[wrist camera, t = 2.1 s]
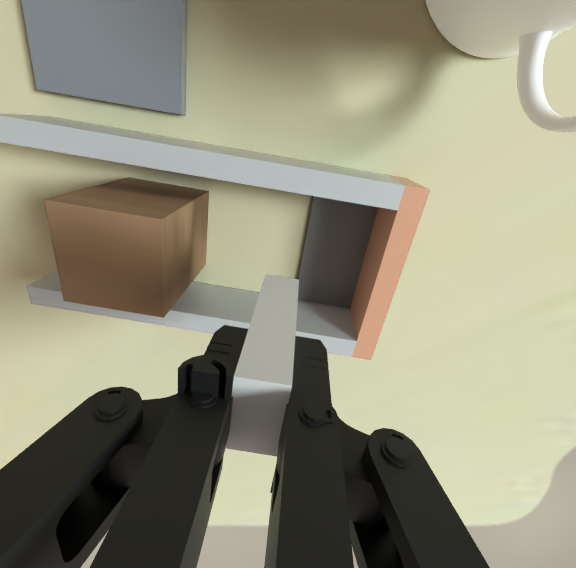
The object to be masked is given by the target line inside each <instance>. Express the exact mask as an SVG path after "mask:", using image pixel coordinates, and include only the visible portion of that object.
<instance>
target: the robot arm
mask: <svg viewBox="0 0 576 568" xmlns="http://www.w3.org/2000/svg"><path fill="white" fill-rule="evenodd" d="M298 288H299V279H293V278H287V277H281V276H275V275H269V274H266V275H265V278H264V281H263V284H262V287H261V291H260V294H259V297H258V300H257V303H256V307H255V310H254V313H253V316H252V319H251V323H250V326H249V329H246V328H240V327H234V326H228V325H224V326H222V327H221V328H219V329H218V330H217V331H215V333H214V335H213V337H212V339H211V341H210V343H209V345H208V347H207V350H206V351H205V354H204V355H201V356H197V357H192V358H190V359H188V360H187V361H185V362H183V363H182V364H181V366H180V367H179V368H178V393H177V394H175V395H173V396H170V397H166V398H160V399H150V400H142V399H141V397H140V395H139V393H138V392H136V391H135V390H133V389H131V388H126V387H113V388H108V389H105V390H102V391H99V392H97V393H96V394H94V395H92V396H91V397H89V398H88V399H86V400H85V401H84V402H83V403H82V404H80V405H79V406H78V407H77V408H75V409H74V410H73V411H72V412H70V413H69V414H68V415H67V416H66V417H64V418H63V419H62V420H61V421H59V422H58V423H57V424H56V425H55V426H53V427H52V428H51V429H50V430H48V431H47V432H46V433H45V434H44V435H42V436H41V437H40V438H39V439H37V440H36V441H35V442H34V443H32V444H31V445H30V446H29V447H28V448H26V449H25V450H24V451H23V452H21V453H20V454H19V455H18V456H17V457H15V458H14V459H13V460H12V461H10V462H9V463H8V464H7V465H5V466H4V467H3V468H2V469H1V470H0V568H80V567H81V566H82V564H83V563H84V562H85V561H86V559H87V558H88V557H89V555H90V554H91V553H92V551H93V550H94V549H95V547H96V546H97V545H98V543H99V542H100V541H101V539H102V538H103V537H104V535H105V534H106V533H107V531H108V530H109V531H108V533H107V535H106V537H105V539H104V541H103V543H102V545H101V547H100V548H99V551H98V552H97V554H96V556H95V558H94V560H93V562H92V564H91V566H90V568H196V566H197V563H198V559H199V555H200V551H201V547H202V543H203V540H204V536H205V532H206V528H207V524H208V520H209V516H210V512H211V509H212V505H213V501H214V497H215V493H216V489H217V485H218V481H219V478H220V474H221V470H222V464H223V455H224V451H225V447H226V448H228V449H234V450H240V451H247V452H253V453H259V454H265V455H272V456H277V464H276V468H275V473H274V478H273V482H272V487H271V492H270V493H272V499H271V509H270V518H269V528H268V538H267V547H266V557H265V566H264V568H354V565H353V555H352V547H353V551H354V554H355V557H356V560H357V564H358V567H359V568H489V566H488V564H487V563H486V561H485V559H484V557H483V556H482V554H481V552H480V551H479V549H478V547H477V546H476V544H475V542H474V541H473V539H472V537H471V535H470V534H469V532H468V531H467V529H466V527H465V525H464V524H463V522H462V520H461V519H460V517H459V515H458V514H457V512H456V510H455V509H454V507H453V505H452V503H451V502H450V500H449V498H448V497H447V495H446V493H445V492H444V490H443V488H442V487H441V485H440V483H439V482H438V480H437V478H436V477H435V475H434V473H433V471H432V470H431V468H430V466H429V465H428V463H427V461H426V460H425V458H424V456H423V455H422V453H421V451H420V450H419V448H418V447H417V446H416V445H415V443H414V442H413V441H412V440H411V439H409V438H408V437H407V436H405V435H404V434H402V433H400V432H398V431H396V430H393V429H386V428H382V429H378V430H375V431H374V432H373V433H372V434H371V435H370V436H369V435H367V434H365V433H362V432H360V431H358V430H356V429H354V428H352V427H350V426H348V425H347V424H345V423H344V422H343V421H342V420H341V419H340V418H339V417H338V416H337V413H336V411H335V409H334V408H333V407H332V403H331V393H330V382H329V370H328V362H327V360H328V359H327V349H326V348H325V346H324V345H323V343H322V342H321V340H319V339H313V338H306V337H300V336H295V334H296V319H297V303H298ZM226 444H227V445H226ZM351 544H352V545H351Z"/></svg>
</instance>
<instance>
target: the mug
mask: <svg viewBox="0 0 576 568" xmlns="http://www.w3.org/2000/svg"><path fill="white" fill-rule="evenodd" d="M425 1H426V4H427V8H428V10H429V13H430V15H431V18H432V20H433V22H434V23H435V25H436V27H437V28H438V30H439V31H440V33H441V34H442V35H443V36H444V37H445V38H446V39H447V40H448V41H449V42H450V43H451V44H452V45H453V46H455V47H456V48H458V49H459V50H461V51H463V52H465V53H467V54H470V55H473V56H477V57H481V58H506V57H511V56H515V55H518V65H517V87H518V94H519V99H520V103H521V105H522V108H523V110H524V112H525V114H526V115H527V117H528V118H529V119H530V120H531V121H532V122H533V123H534V124H536V125H537V126H539V127H541V128H543V129H546V130H550V131H555V132H575V131H576V116H573V117H563V116H560V115H558V114H557V113H555V112H554V111H553V110H552V109H551V107H550V106H549V104H548V103H547V100H546V98H545V94H544V90H543V81H542V71H543V61H544V55H545V51H546V48H547V45H548V42H549V40H551V39H552V38H554V37H555V36H557V35H558V34H559V33H561V32H563V31H566V30H568V29H571V28H573V27H576V0H425Z"/></svg>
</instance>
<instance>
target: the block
mask: <svg viewBox="0 0 576 568" xmlns="http://www.w3.org/2000/svg"><path fill="white" fill-rule="evenodd" d="M208 200H209V191H205V190H199V189H193V188H188V187H182V186H176V185H170V184H164V183H159V182H153V181H147V180H141V179H135V178H126V179H122V180H118V181H114V182H110V183H106V184H103V185H99V186H95V187H91V188H87V189H83V190H80V191H76V192H72V193H68V194H64V195H60V196H56V197H53V198H49V199H45V205H46V211H47V216H48V221H49V227H50V232H51V237H52V243H53V248H54V253H55V258H56V264H57V269H58V274H59V280H60V285H61V290H62V296H63V301H66V302H72V303H78V304H84V305H90V306H96V307H102V308H108V309H114V310H120V311H126V312H132V313H138V314H144V315H150V316H156V317H162V318H164V317H165V316H166V315H167V313H168V312H169V311H170V309H171V308H172V307H173V306H174V304H175V303H176V302H177V300H178V299H179V298H180V297H181V295H182V294H183V293H184V291H185V290H186V289H187V288H188V286H189V285H190V284H191V282H192V281H193V280H194V279H195V277H196V276H197V275H198V273H199V272H200V271H201V270H202V268H203V267H204V266H205V264H206V247H207V223H208Z"/></svg>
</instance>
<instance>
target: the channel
mask: <svg viewBox="0 0 576 568" xmlns="http://www.w3.org/2000/svg"><path fill="white" fill-rule="evenodd" d="M0 142H2V143H8V144H14V145H20V146H25V147H31V148H37V149H43V150H49V151H54V152H60V153H66V154H72V155H78V156H84V157H89V158H95V159H101V160H107V161H113V162H118V163H124V164H130V165H136V166H142V167H147V168H153V169H159V170H165V171H171V172H176V173H182V174H188V175H194V176H200V177H206V178H211V179H217V180H223V181H229V182H235V183H240V184H246V185H252V186H258V187H264V188H269V189H275V190H281V191H287V192H293V193H299V194H304V195H310V196H314V198H313V203H312V209H311V214H310V219H309V224H308V230H307V235H306V240H305V245H304V251H303V256H302V261H301V267H300V272H299V277H298V279H299V288H298V303H297V319H296V334H295V336H300V337H306V338H313V339H319V340H321V342H322V343H323V345H324V346H325V348H326V349H327V353H332V354H338V355H344V356H350V357H356V358H362V359H368V360H371V358H372V355H373V353H374V350H375V347H376V344H377V341H378V338H379V335H380V333H381V330H382V327H383V324H384V321H385V318H386V315H387V312H388V310H389V307H390V304H391V301H392V298H393V295H394V292H395V289H396V287H397V284H398V281H399V278H400V275H401V272H402V269H403V267H404V264H405V261H406V258H407V255H408V252H409V249H410V246H411V244H412V241H413V238H414V235H415V232H416V229H417V226H418V223H419V221H420V218H421V215H422V212H423V209H424V206H425V203H426V201H427V198H428V195H429V192H430V190H429V189H427V188H425V187H423V186H421V185H419V184H417V183H415V182H413V181H411V180H409V179H407V178H401V177H395V176H390V175H384V174H378V173H372V172H366V171H361V170H355V169H349V168H343V167H338V166H332V165H326V164H320V163H315V162H309V161H303V160H297V159H292V158H286V157H280V156H274V155H268V154H263V153H257V152H251V151H245V150H240V149H234V148H228V147H222V146H217V145H211V144H205V143H199V142H193V141H188V140H182V139H176V138H170V137H165V136H159V135H153V134H147V133H142V132H136V131H130V130H124V129H119V128H113V127H107V126H101V125H95V124H90V123H84V122H78V121H72V120H67V119H61V118H55V117H49V116H32V115H14V114H0ZM27 288H28V293H29V297H30V301H31V304H37V305H43V306H49V307H55V308H61V309H67V310H73V311H79V312H85V313H91V314H97V315H103V316H109V317H115V318H121V319H127V320H133V321H139V322H145V323H151V324H157V325H163V326H169V327H175V328H181V329H187V330H193V331H199V332H205V333H211V334H214V333H215V331H217V330H218V329H219V328H221V327H222V326H224V325H228V326H234V327H240V328H246V329H249V326H250V323H251V319H252V316H253V313H254V310H255V307H256V303H257V300H258V297H259V294H260V293H258V292H252V291H246V290H240V289H234V288H228V287H222V286H216V285H210V284H204V283H198V282H191V284H190V285H189V286H188V288H187V289H186V290H185V291H184V293H183V294H182V295H181V297H180V298H179V299H178V300H177V302H176V303H175V304H174V306H173V307H172V308H171V309H170V311H169V312H168V313H167V315H166V316H165V317H164V318H162V317H156V316H150V315H144V314H138V313H132V312H126V311H120V310H114V309H108V308H102V307H96V306H90V305H84V304H78V303H72V302H66V301H63V296H62V290H61V285H60V280H59V274H58V270H56V271H54V272H52V273H50V274H49V275H47V276H45V277H43V278H41V279H39V280H38V281H36V282H34V283H32V284H30V285H29V286H27Z"/></svg>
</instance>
